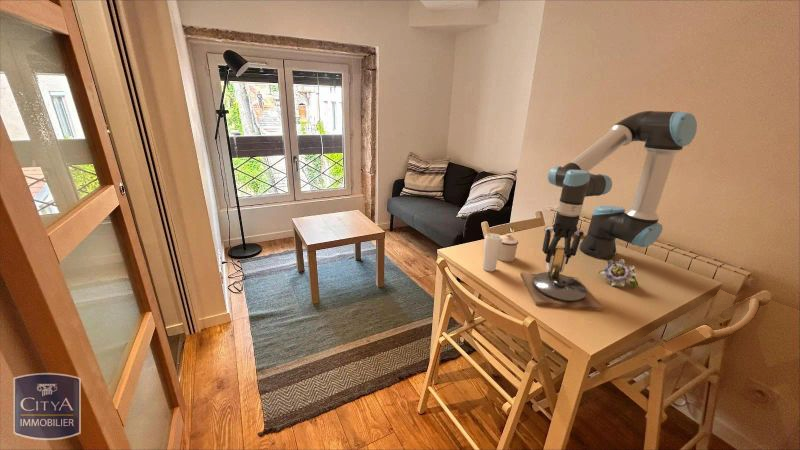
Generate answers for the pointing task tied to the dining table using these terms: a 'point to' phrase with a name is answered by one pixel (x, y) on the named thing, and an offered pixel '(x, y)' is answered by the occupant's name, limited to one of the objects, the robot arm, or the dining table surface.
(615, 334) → the dining table surface
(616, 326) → the dining table surface
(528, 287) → the base plate
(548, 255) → the robot arm
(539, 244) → the dining table surface
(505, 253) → the teacup with lid
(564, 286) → the handwheel
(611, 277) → the passion flower
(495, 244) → the drinking glass
